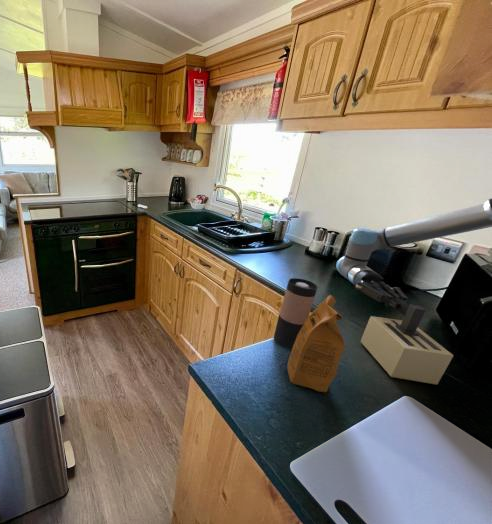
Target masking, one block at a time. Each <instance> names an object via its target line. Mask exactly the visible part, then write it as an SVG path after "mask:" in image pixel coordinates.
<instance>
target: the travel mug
mask: <svg viewBox="0 0 492 524" xmlns="http://www.w3.org/2000/svg"><path fill="white" fill-rule="evenodd" d="M286 285H287V286H286V289H285V292H284V295H283V299H282V302H281V306H280V308H279V309H280V310H279V313H278V317H277V321H276V326H275V329H274V334H273V340H274V342H275V343H276V344H278V345H279V346H281V347H282V348H286V349H292V348H293V345H294V343H295V340H296V338H297V335H298V333H299V331H300V330H301V328H302V327H303V325H304V323H305V322H306V320H307V318H308V317H309V316H310V314H311V312H312V308H313V303H314V300H315V297H316V294H317V291H318V288H319V287H318V285H317V284H316V283H314V282H312V281H310V280H307V279H304V278H297V277H294V278H293V277H292V278H289V279H288V282H287V284H286Z"/></svg>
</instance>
